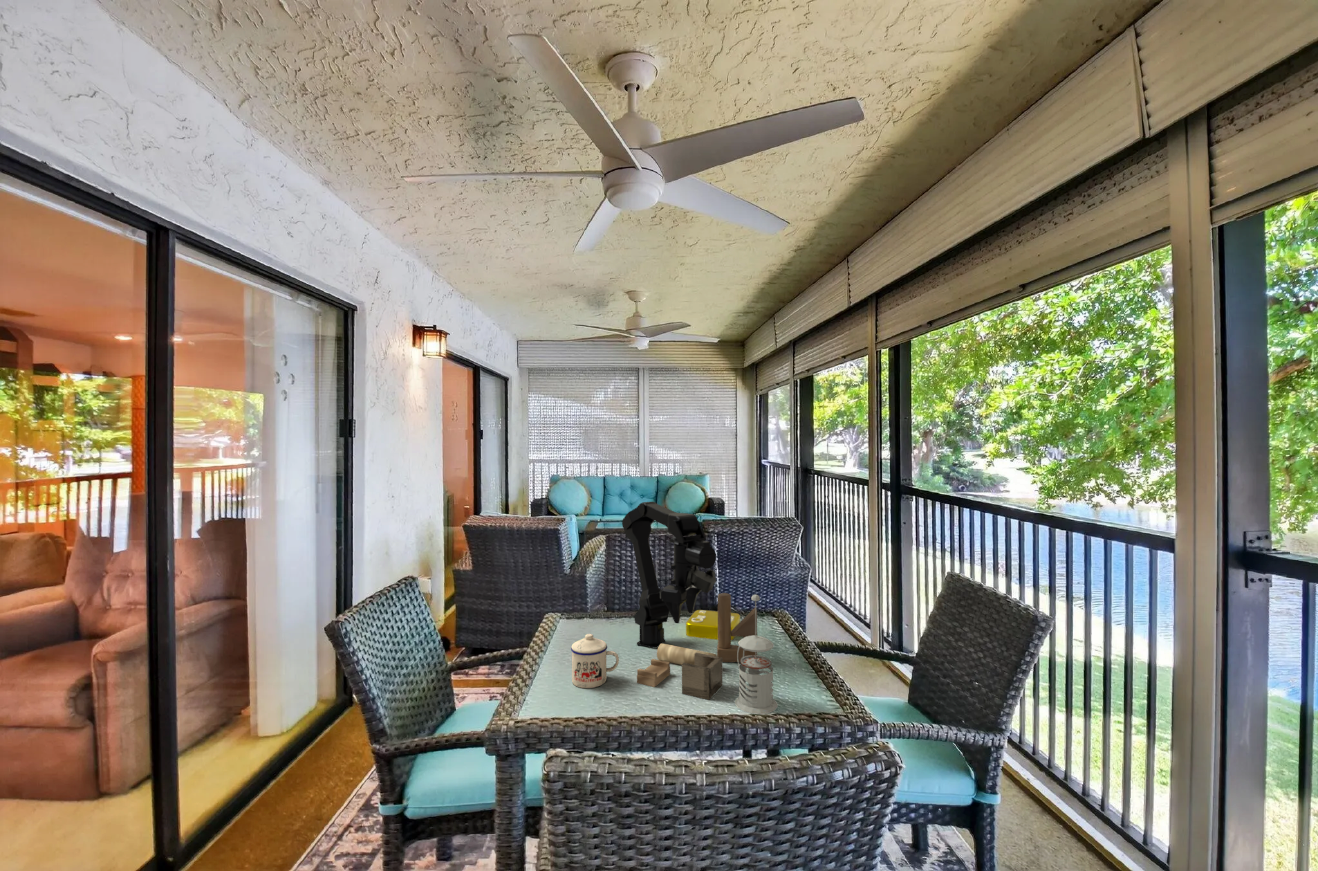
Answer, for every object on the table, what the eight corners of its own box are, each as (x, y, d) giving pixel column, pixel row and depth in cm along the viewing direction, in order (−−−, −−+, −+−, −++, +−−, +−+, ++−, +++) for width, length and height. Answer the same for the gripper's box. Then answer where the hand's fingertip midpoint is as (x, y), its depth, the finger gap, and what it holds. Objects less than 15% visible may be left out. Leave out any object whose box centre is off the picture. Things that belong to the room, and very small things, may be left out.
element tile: (732, 642, 169) (732, 626, 169) (684, 637, 173) (684, 621, 173) (741, 626, 183) (740, 611, 183) (696, 622, 187) (696, 607, 187)
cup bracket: (682, 693, 134) (681, 664, 134) (696, 680, 142) (696, 652, 142) (708, 700, 131) (708, 669, 131) (722, 685, 138) (722, 657, 138)
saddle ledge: (636, 682, 140) (636, 670, 140) (653, 670, 147) (653, 658, 148) (654, 687, 138) (654, 674, 138) (670, 674, 145) (670, 661, 145)
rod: (656, 662, 153) (657, 645, 154) (664, 657, 157) (664, 641, 157) (710, 673, 146) (711, 656, 146) (717, 668, 150) (717, 651, 150)
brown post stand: (757, 663, 152) (757, 596, 152) (717, 662, 153) (717, 596, 153) (756, 658, 156) (755, 593, 156) (717, 657, 156) (716, 592, 156)
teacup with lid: (569, 689, 137) (569, 641, 137) (572, 673, 146) (572, 629, 146) (618, 688, 137) (618, 640, 137) (619, 672, 146) (619, 627, 146)
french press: (749, 717, 123) (749, 602, 123) (722, 695, 133) (722, 589, 133) (786, 708, 127) (786, 597, 127) (757, 687, 137) (757, 585, 137)
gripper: (698, 572, 141) (698, 633, 141) (723, 557, 158) (723, 612, 158) (658, 567, 146) (658, 626, 146) (687, 553, 163) (687, 606, 163)
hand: (683, 617), depth 153 cm, fingers open, 9 cm apart
